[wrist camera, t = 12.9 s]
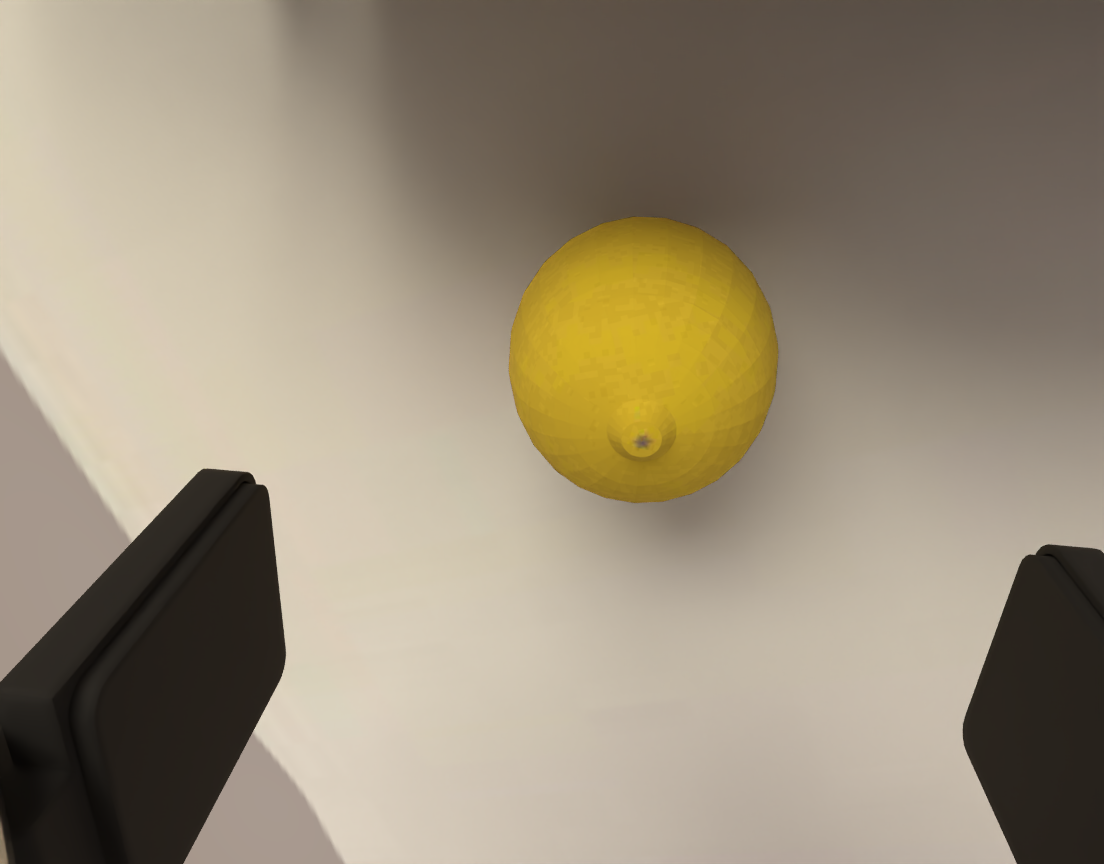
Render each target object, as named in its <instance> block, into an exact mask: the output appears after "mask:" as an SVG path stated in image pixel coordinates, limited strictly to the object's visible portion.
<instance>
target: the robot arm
mask: <svg viewBox="0 0 1104 864" xmlns="http://www.w3.org/2000/svg"><path fill="white" fill-rule="evenodd" d="M285 658H286V648H285V639H284V630H283V620H282V611H281V602H280V593H279V583H278V574H277V565H276V556H275V547H274V537H273V528H272V519H271V510H270V500H269V494H268V490H267V488H266V487H265V486H264V485H258V484H256V482H255V479H254V477H253V475H252V474H250V473H249V472H240V471H228V470H217V469H202V470H201V471H200V472H198V473H197V474H196V475H195V476H194V477H193V478H192V480H191V481H190V482H189V483H188V484H187V485H186V486H185V487H184V488H183V489H182V490H181V491H180V492H179V493H178V494H177V495H176V497H175V498H174V499H173V500H172V501H171V502H170V503H169V504H168V505H167V506H166V507H165V508H164V509H163V510H162V511H161V512H160V513H159V515H158V516H157V517H156V518H155V519H154V520H153V521H152V522H151V523H150V524H149V525H148V526H147V527H146V528H145V529H144V530H143V531H142V533H141V534H140V535H139V536H138V537H137V538H136V539H135V540H134V541H133V542H132V543H131V544H130V545H129V546H128V547H127V548H126V549H125V551H124V552H123V553H122V554H121V555H120V556H119V557H118V558H117V559H116V560H115V561H114V562H113V563H112V564H111V565H110V566H109V568H108V569H107V570H106V571H105V572H104V573H103V574H102V575H101V576H100V577H99V578H98V579H97V580H96V581H95V583H93V584H92V586H91V587H90V588H89V589H88V590H87V591H86V592H85V593H84V594H83V595H82V596H81V597H80V599H78V600H77V601H76V602H75V604H74V605H73V606H72V607H71V608H70V609H69V610H68V611H67V612H66V613H65V614H64V615H63V616H62V618H60V619H59V621H58V622H57V623H56V624H55V625H54V626H53V627H52V628H51V629H50V630H49V631H48V632H47V633H46V634H45V635H44V636H43V637H42V639H41V640H40V641H39V642H38V643H37V644H36V645H35V646H34V647H33V648H32V649H31V650H30V651H29V652H28V653H27V654H26V655H25V657H24V658H23V659H22V660H21V661H20V662H19V663H18V664H17V665H16V666H15V667H14V668H13V669H12V670H11V671H10V672H9V674H8V675H7V676H6V677H5V678H4V679H3V680H2V681H1V682H0V864H183V863H184V861H185V859H186V857H187V856H188V854H189V852H190V850H191V848H192V846H193V844H194V842H195V840H196V839H197V837H198V835H199V833H200V831H201V829H202V827H203V825H204V823H205V821H206V820H207V818H208V816H209V814H210V812H211V810H212V808H213V806H214V804H215V802H216V800H217V799H218V797H219V795H220V793H221V791H222V789H223V787H224V785H225V783H226V782H227V780H228V778H229V776H230V774H231V772H232V770H233V768H234V766H235V765H236V763H237V760H238V759H239V757H240V755H241V753H242V751H243V749H244V747H245V746H246V744H247V742H248V740H249V738H250V736H251V734H252V732H253V730H254V729H255V727H256V725H257V723H258V721H259V719H260V717H261V715H262V713H263V711H264V710H265V708H266V706H267V704H268V702H269V700H270V698H271V696H272V694H273V693H274V691H275V689H276V687H277V685H278V683H279V681H280V679H281V676H282V673H283V670H284V665H285ZM963 741H964V746H965V749H966V752H967V754H968V756H969V758H970V761H971V763H972V765H973V767H974V770H975V772H976V774H977V776H978V778H979V781H980V783H981V785H982V787H983V789H984V792H985V794H986V796H987V798H988V801H989V803H990V805H991V807H992V809H993V812H994V814H995V816H996V818H997V820H998V823H999V825H1000V827H1001V829H1002V831H1003V834H1004V836H1005V838H1006V840H1007V843H1008V845H1009V847H1010V849H1011V851H1012V854H1013V856H1014V858H1015V860H1016V862H1017V864H1104V553H1103V552H1102V551H1100V550H1098V549H1093V548H1083V547H1072V546H1060V545H1049V544H1048V545H1045V546H1042V547H1041V548H1040V549H1039V550H1038V551H1037V553H1036V555H1028V556H1026V557H1025V558H1024V559H1023V560H1022V562H1021V564H1020V566H1019V568H1018V571H1017V574H1016V577H1015V579H1014V582H1013V585H1012V588H1011V590H1010V593H1009V596H1008V599H1007V602H1006V604H1005V607H1004V610H1003V613H1002V615H1001V618H1000V621H999V624H998V627H997V629H996V632H995V635H994V638H993V640H992V643H991V646H990V649H989V652H988V654H987V657H986V660H985V663H984V665H983V668H982V671H981V674H980V676H979V679H978V682H977V685H976V688H975V690H974V693H973V696H972V699H971V701H970V704H969V707H968V710H967V713H966V715H965V719H964V723H963Z"/></svg>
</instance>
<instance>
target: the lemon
mask: <svg viewBox="0 0 1104 864" xmlns="http://www.w3.org/2000/svg"><path fill="white" fill-rule="evenodd" d="M777 362H778V343H777V338H776V333H775V328H774V323H773V318H772V314H771V310H770V306H769V304H768V302H767V301H766V299H765V297H764V295H763V293H762V291H761V289H760V287H759V285H758V283H757V281H756V279H755V277H754V276H753V274H752V272H751V271H750V270H749V269H748V268H747V267H746V266H745V265H744V264H743V262H742V261H741V260H740V259H739V258H738V257H737V256H736V255H735V254H734V253H733V252H732V251H731V250H730V248H729V247H728V246H727V245H725V244H724V243H722V242H720V241H719V240H717V239H715V238H714V237H712V236H711V235H709V234H707V233H706V232H704V231H702V230H701V229H699V228H697V227H694V226H691V225H688V224H684V223H681V222H678V221H674V220H671V219H668V218H657V217H629V218H624V219H620V220H615V221H611V222H606V223H602V224H600V225H598V226H596V227H594V228H592V229H590V230H588V231H586V232H584V233H582V234H580V235H578V236H576V237H574V238H572V239H570V240H569V241H568V242H567V243H566V244H565V245H563V246H562V247H561V248H560V249H559V250H558V251H557V252H555V253H554V254H553V255H552V256H551V257H550V258H549V259H547V260H546V261H545V263H544V264H543V265H542V267H541V268H540V270H539V271H538V272H537V274H536V275H535V277H534V278H533V280H532V281H531V283H530V284H529V286H528V287H527V289H526V290H525V292H524V294H523V297H522V300H521V302H520V305H519V308H518V311H517V314H516V317H515V320H514V323H513V326H512V330H511V342H510V357H509V376H510V381H511V386H512V390H513V395H514V400H515V405H516V409H517V412H518V415H519V417H520V419H521V421H522V423H523V425H524V427H525V429H526V431H527V433H528V435H529V437H530V439H531V441H532V443H533V445H534V446H535V447H536V448H537V449H538V451H539V452H540V453H541V454H542V455H543V456H544V457H545V459H546V460H547V461H548V462H549V463H550V464H551V466H552V467H553V468H554V469H555V470H556V471H557V472H559V473H560V474H561V475H563V476H564V477H566V478H567V479H568V480H570V481H571V482H573V483H574V484H575V485H577V486H578V487H580V488H583V489H585V490H587V491H590V492H592V493H595V494H597V495H600V496H602V497H605V498H609V499H615V500H621V501H627V502H632V503H642V502H663V501H667V500H671V499H674V498H678V497H682V496H685V495H689V494H692V493H694V492H696V491H698V490H700V489H701V488H703V487H705V486H707V485H709V484H711V483H713V482H715V481H717V480H718V479H719V478H720V477H721V476H723V475H724V474H725V473H726V472H727V471H728V470H729V469H731V468H732V467H733V466H734V465H735V464H736V463H738V462H739V461H740V460H741V458H742V457H743V456H744V454H745V453H746V452H747V450H748V449H749V447H750V446H751V444H752V443H753V441H754V440H755V439H756V437H757V436H758V434H759V433H760V431H761V429H762V426H763V424H764V421H765V418H766V416H767V413H768V410H769V407H770V404H771V402H772V399H773V396H774V392H775V386H776V375H777Z"/></svg>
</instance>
